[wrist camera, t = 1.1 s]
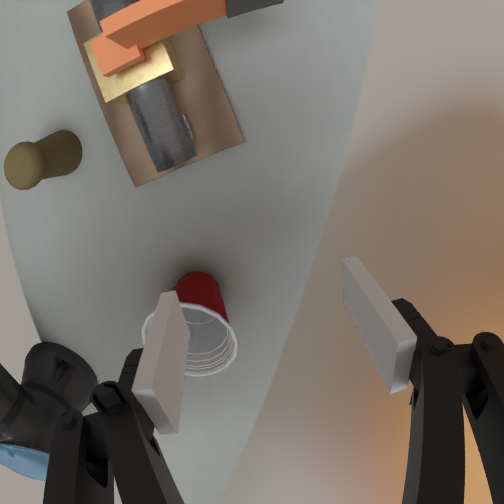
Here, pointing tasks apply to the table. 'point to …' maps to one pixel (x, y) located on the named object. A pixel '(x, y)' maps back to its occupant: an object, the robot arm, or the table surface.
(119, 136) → the mounting board
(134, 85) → the valve body
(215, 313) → the plastic cup
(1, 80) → the table surface
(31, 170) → the cork
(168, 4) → the valve lever
